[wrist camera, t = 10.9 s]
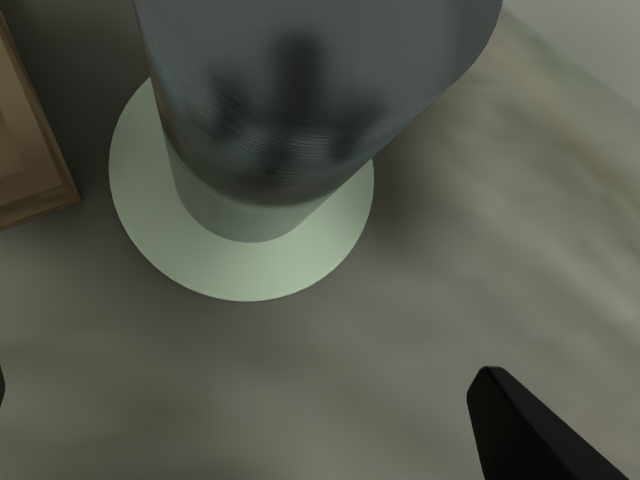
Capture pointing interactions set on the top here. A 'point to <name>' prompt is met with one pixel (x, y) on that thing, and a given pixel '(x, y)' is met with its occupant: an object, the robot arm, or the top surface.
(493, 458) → the robot arm
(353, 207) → the drink coaster
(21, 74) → the light wooden tray
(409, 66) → the grey round cylinder
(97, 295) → the top surface
